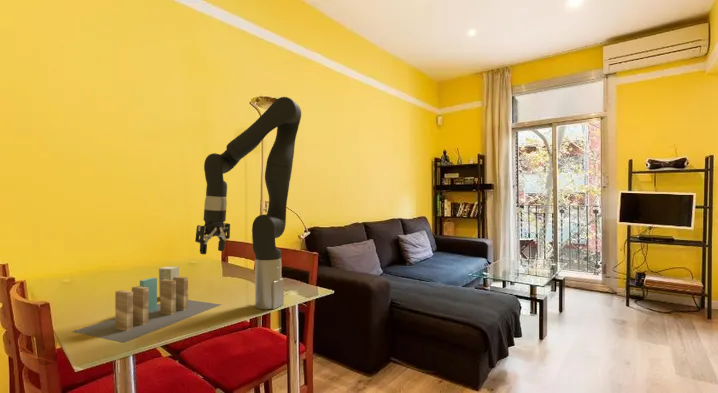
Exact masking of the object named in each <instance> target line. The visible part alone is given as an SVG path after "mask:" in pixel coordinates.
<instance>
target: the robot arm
mask: <svg viewBox="0 0 718 393" xmlns="http://www.w3.org/2000/svg"><path fill="white" fill-rule="evenodd" d="M301 118H302V110H301V107H300V106H299V104H298V103H297V102H296V101H294V99H292V98H290V97H288V96H281V97H278V98H276V99H275V101H273V102H272V103H271V104H270V106H269V107H268V108H267V109H266V110H265V111H264V112H263V113H262V114H261V115H260V116H259V117H258V118H257V119H256V121H254V122H253V123H252V124H251V125H250V126H248V128H246V129H245V130H244V131H242V132H241V133H240V134H239V135H237V136H236V137H234V139H232V140H230V142H228V144H227V145H226V150H224V152H222V153H221V154H220V153H216V152H215V153H210V154H208V155H207V156H206V157H205V160H204V165H203V172H204V177H205V182H206V189H205V200H204V204H203V205H204V209H203V221H204V225H200V224H197V226H196V232H195V242H196V243H198V244H199V253H200V255H207V251H208V242H209V241H210V240H211V239H212V237H217V238H218V243H217V244H218V247H217V250H218V251H219V252H224V251H225V245H226V243H225V242H227V240H229V239H230V238H231V224H230V223H228V222H226V220H227V219H226V218H227V206H228V204H227V203H228V201H227V197H228V195H227V194H228V183H227V181H226V180H224V174H227V173H228V172H230V171H231V170H233V169H234V168H235V167H236V166H237V165H238V163H240V161H241V160H242V159H243V158H245V156H247V155H248V154H250V153H251V152H252V151H254V150H255V149H256V148H257V147H258V146H259V145H260V143H261V142H262V141H263V140H264V139H265V138H266V137H267V135H268V134H269V133H270V132H272V131H273V130H275V129H276V136H275V140H274V141H273V144H272V147H271V149H270V151H269V153H268V155H267V159H266V165H265V171H264V182H265V187H266V190H267V194H268V209H267V212H266V214H260V215H258V216H256V217H255V218H254V220H253V223H252V225H251V226H252V228H251V238H252V240H251V241H252V250H253V253H254V257H255V259H254V260H255V262H254V263H255V264H254V265H255V267H254V271H255V272H254V275H255V276H254V278H255V280H254V284H255V285H254V288H255V289H254V290H255V291H254V293H255V294H254V296H255V298H254V299H255V300H254V302H255V304H254V306H255V308H257V309H260V310H275V309H277V308H279V307H282V306H284V305H285V303H284V302H285V298H284V297H285V295H284V294H285V288H284V286H285V284H284V282H285V279H284V278H283V277H282V250H281V249H279V248H278V247H277V244H276V239H278V238H280V237H281V236H283V234H284V232H285V230H286V222H287V204H288V194H289V188H290V184H291V178H292V171H293V164H294V154H295V144H296V138H297V134H298V130H299V126H300V123H301Z"/></svg>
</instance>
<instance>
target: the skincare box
mask: <svg viewBox="0 0 718 393" xmlns="http://www.w3.org/2000/svg"><path fill="white" fill-rule="evenodd" d="M176 276H180V266H168V265H166V266H164V267H159V268H158V281H159V282H158V284H159V286H158V288H159V289H158V290H159V294H160V280H164V279H167V280H173V277H176Z"/></svg>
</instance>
